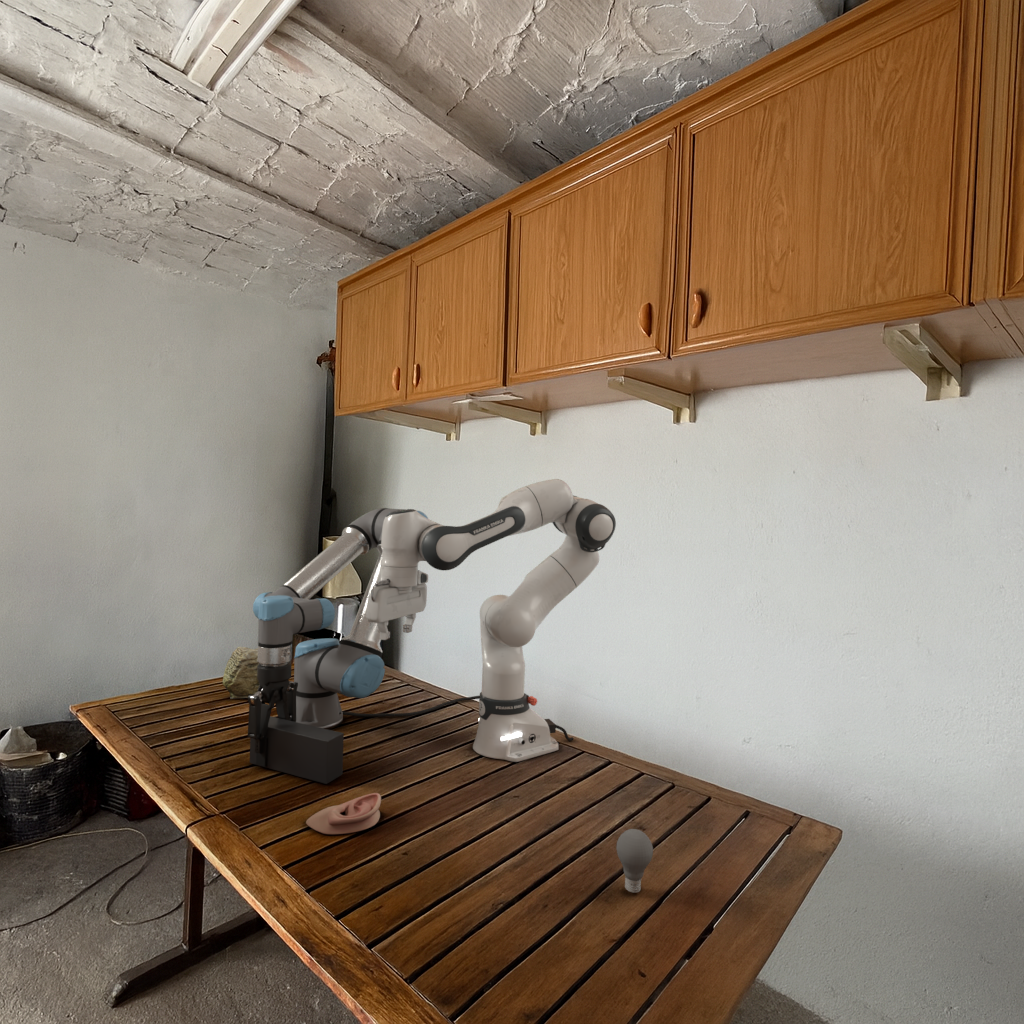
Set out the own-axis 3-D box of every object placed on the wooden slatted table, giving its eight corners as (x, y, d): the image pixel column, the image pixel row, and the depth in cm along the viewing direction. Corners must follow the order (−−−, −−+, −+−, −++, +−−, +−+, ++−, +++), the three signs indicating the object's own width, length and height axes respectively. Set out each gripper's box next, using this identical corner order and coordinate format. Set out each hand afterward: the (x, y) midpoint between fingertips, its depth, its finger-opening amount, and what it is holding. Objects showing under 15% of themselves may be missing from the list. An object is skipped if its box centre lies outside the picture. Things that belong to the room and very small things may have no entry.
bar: (249, 763, 148) (250, 722, 148) (267, 754, 153) (268, 715, 153) (326, 784, 139) (327, 741, 139) (342, 774, 144) (343, 733, 144)
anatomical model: (298, 809, 120) (327, 783, 131) (297, 830, 120) (327, 802, 131) (363, 819, 117) (388, 791, 128) (362, 840, 117) (387, 811, 128)
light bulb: (610, 879, 108) (613, 822, 108) (644, 879, 109) (647, 822, 109) (619, 902, 102) (622, 840, 102) (655, 901, 103) (658, 840, 103)
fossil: (218, 695, 195) (220, 647, 195) (278, 685, 208) (279, 640, 207) (228, 703, 189) (230, 653, 188) (289, 692, 201) (290, 645, 201)
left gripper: (256, 674, 138) (253, 779, 139) (314, 656, 155) (311, 749, 156) (230, 669, 141) (228, 772, 142) (290, 652, 158) (288, 743, 159)
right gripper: (384, 583, 139) (381, 645, 139) (432, 574, 158) (429, 630, 158) (360, 580, 142) (358, 642, 142) (410, 572, 160) (408, 626, 161)
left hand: (271, 760), depth 149 cm, fingers closed on bar, 5 cm apart
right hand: (396, 635), depth 150 cm, fingers open, 8 cm apart
